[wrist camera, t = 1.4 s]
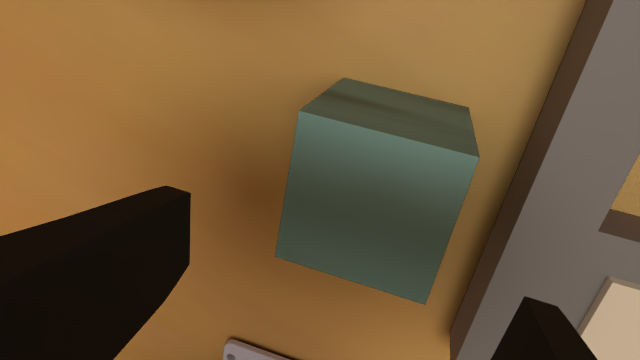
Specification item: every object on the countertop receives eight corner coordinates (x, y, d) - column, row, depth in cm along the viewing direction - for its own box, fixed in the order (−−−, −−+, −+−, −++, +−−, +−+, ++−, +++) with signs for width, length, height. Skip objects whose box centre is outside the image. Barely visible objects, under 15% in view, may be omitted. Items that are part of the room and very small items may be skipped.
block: (431, 218, 19) (425, 304, 13) (321, 186, 19) (274, 256, 14) (468, 107, 17) (479, 157, 11) (343, 77, 17) (298, 110, 12)
